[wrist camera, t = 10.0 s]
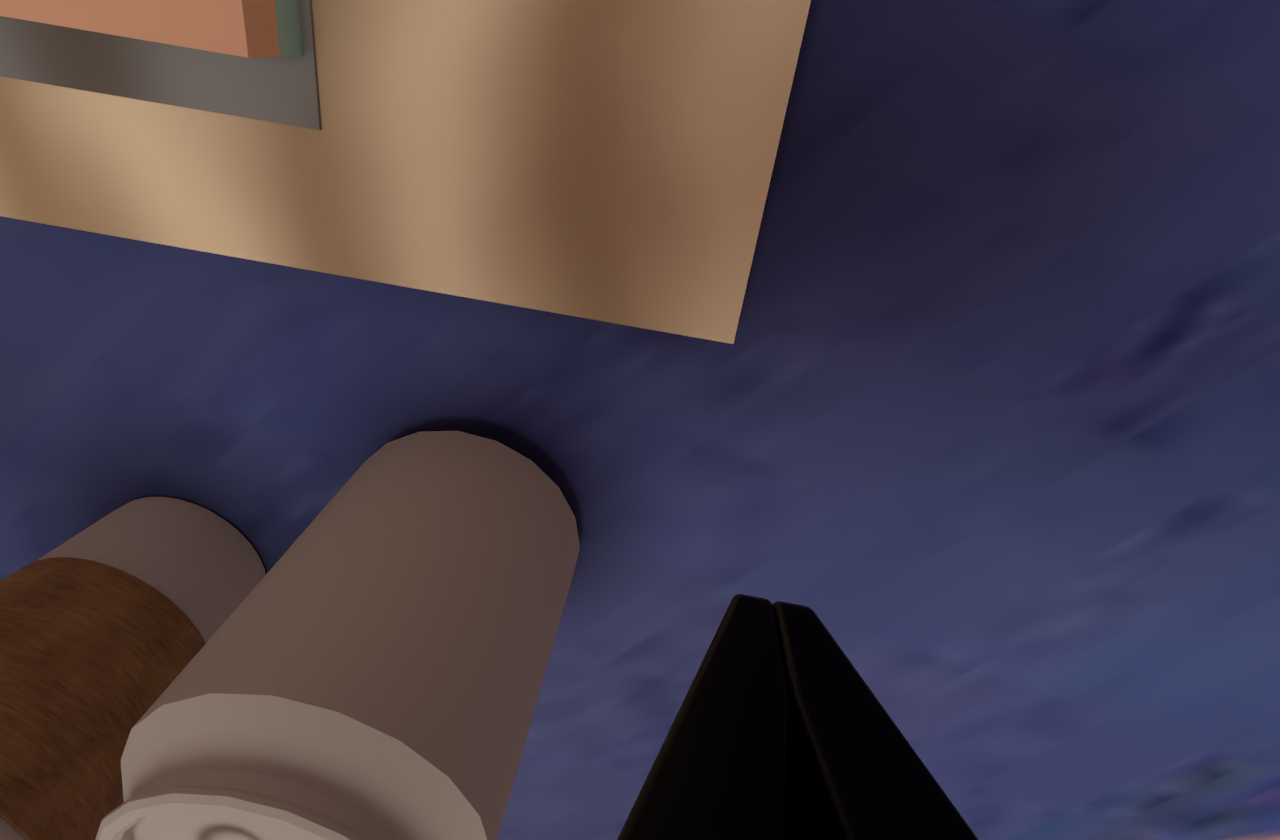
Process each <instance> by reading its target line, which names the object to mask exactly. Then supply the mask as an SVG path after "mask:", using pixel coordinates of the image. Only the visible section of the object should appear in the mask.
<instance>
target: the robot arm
mask: <svg viewBox="0 0 1280 840" xmlns="http://www.w3.org/2000/svg"><path fill="white" fill-rule="evenodd" d="M617 840H978V839H977V837H976V836H975V835H974V833H973V832H972V830H971V829H970V828H969V826H968V825H967V823H966V822H965V821H964V819H963V818H962V816H961V815H960V814H959V812H958V811H957V809H956V808H955V807H954V805H953V804H952V803H951V801H950V800H949V798H948V797H947V796H946V794H945V793H944V791H943V790H942V789H941V787H940V786H939V784H938V783H937V782H936V780H935V779H934V778H933V776H932V775H931V773H930V772H929V771H928V769H927V768H926V766H925V765H924V764H923V762H922V761H921V759H920V758H919V757H918V755H917V754H916V753H915V751H914V750H913V748H912V747H911V746H910V744H909V743H908V741H907V740H906V739H905V737H904V736H903V734H902V733H901V732H900V730H899V729H898V728H897V726H896V725H895V723H894V722H893V721H892V719H891V718H890V716H889V715H888V714H887V712H886V711H885V709H884V708H883V707H882V705H881V704H880V703H879V701H878V700H877V698H876V697H875V696H874V694H873V693H872V691H871V690H870V689H869V687H868V686H867V684H866V683H865V682H864V680H863V679H862V678H861V676H860V675H859V673H858V672H857V671H856V669H855V668H854V666H853V665H852V664H851V662H850V661H849V659H848V658H847V657H846V655H845V654H844V653H843V651H842V650H841V648H840V647H839V646H838V644H837V643H836V641H835V640H834V639H833V637H832V636H831V634H830V633H829V632H828V630H827V629H826V628H825V626H824V625H823V623H822V622H821V621H820V619H819V618H818V616H817V615H816V614H815V612H814V611H813V610H812V609H810V608H809V607H806V606H802V605H797V604H791V603H786V602H780V601H777V602H775V603H773V604H772V603H771V602H770V601H769V600H767V599H764V598H759V597H753V596H748V595H742V594H737V595H735V596H734V597H733V599H732V601H731V603H730V605H729V607H728V609H727V611H726V613H725V615H724V617H723V620H722V622H721V624H720V626H719V628H718V630H717V632H716V634H715V636H714V638H713V640H712V643H711V645H710V647H709V649H708V651H707V653H706V655H705V657H704V659H703V661H702V663H701V666H700V668H699V670H698V672H697V674H696V676H695V678H694V680H693V682H692V684H691V686H690V689H689V691H688V693H687V695H686V697H685V699H684V701H683V703H682V705H681V707H680V710H679V712H678V714H677V716H676V718H675V720H674V722H673V724H672V726H671V728H670V730H669V733H668V735H667V737H666V739H665V741H664V743H663V745H662V747H661V749H660V751H659V753H658V756H657V758H656V760H655V762H654V764H653V766H652V768H651V770H650V772H649V774H648V776H647V779H646V781H645V783H644V785H643V787H642V789H641V791H640V793H639V795H638V797H637V799H636V802H635V804H634V806H633V808H632V810H631V812H630V814H629V816H628V818H627V820H626V822H625V825H624V827H623V829H622V831H621V833H620V835H619V837H618V839H617Z"/></svg>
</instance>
